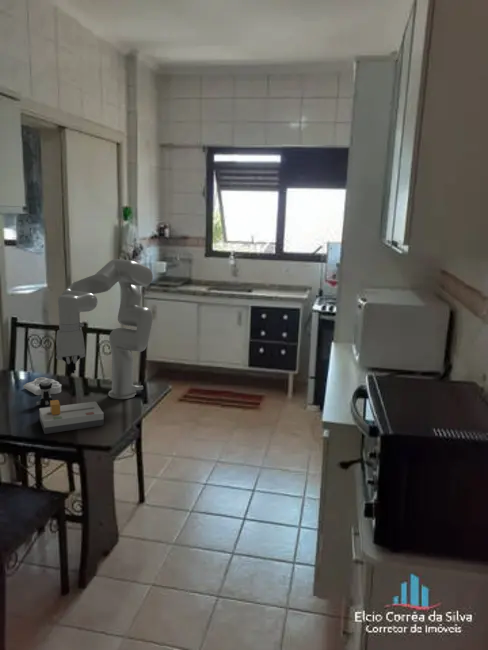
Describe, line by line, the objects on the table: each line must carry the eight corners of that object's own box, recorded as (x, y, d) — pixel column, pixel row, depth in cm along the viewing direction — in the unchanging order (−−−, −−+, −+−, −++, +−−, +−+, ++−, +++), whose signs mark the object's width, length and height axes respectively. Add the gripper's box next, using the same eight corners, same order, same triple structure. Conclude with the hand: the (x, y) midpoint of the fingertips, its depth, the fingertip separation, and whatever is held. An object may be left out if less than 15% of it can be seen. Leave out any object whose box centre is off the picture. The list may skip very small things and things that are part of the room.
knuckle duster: (20, 388, 236) (49, 382, 247) (38, 398, 225) (68, 391, 235) (20, 381, 235) (49, 375, 246) (38, 391, 224) (68, 384, 235)
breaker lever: (58, 414, 200) (57, 399, 198) (60, 419, 195) (60, 404, 194) (50, 416, 198) (49, 400, 197) (52, 420, 194) (51, 405, 193)
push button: (37, 407, 213) (37, 385, 211) (35, 403, 218) (34, 381, 216) (54, 405, 217) (53, 383, 215) (50, 401, 221) (50, 379, 219)
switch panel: (94, 410, 213) (94, 399, 212) (103, 425, 200) (103, 412, 198) (39, 418, 203) (38, 405, 202) (44, 433, 189) (44, 421, 188)
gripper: (87, 323, 199) (89, 367, 203) (47, 326, 192) (49, 371, 196) (91, 327, 193) (93, 373, 197) (50, 330, 185) (52, 377, 190)
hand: (71, 372), depth 196 cm, fingers closed
